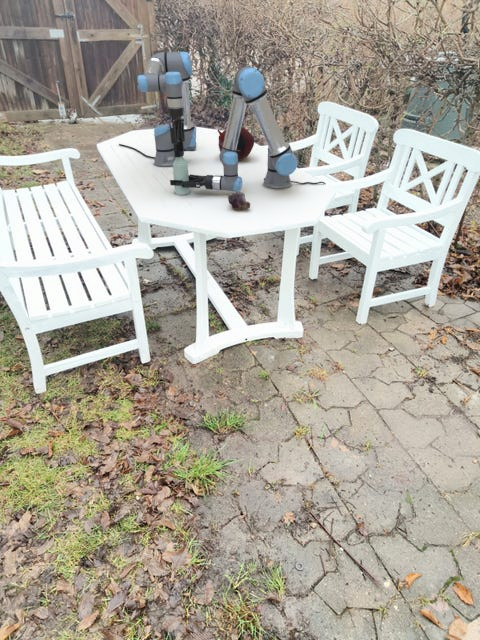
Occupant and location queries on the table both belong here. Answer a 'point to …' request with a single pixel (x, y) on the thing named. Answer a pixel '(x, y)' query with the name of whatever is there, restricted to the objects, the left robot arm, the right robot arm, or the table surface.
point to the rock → (238, 201)
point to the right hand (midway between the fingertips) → (173, 180)
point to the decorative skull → (240, 143)
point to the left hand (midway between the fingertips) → (179, 155)
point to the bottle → (181, 174)
